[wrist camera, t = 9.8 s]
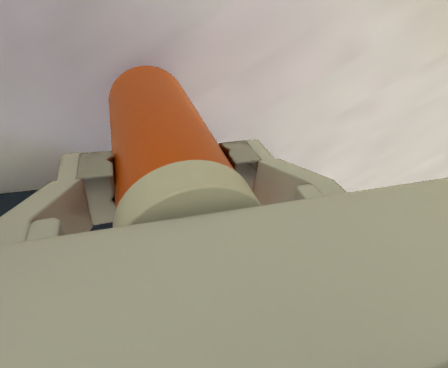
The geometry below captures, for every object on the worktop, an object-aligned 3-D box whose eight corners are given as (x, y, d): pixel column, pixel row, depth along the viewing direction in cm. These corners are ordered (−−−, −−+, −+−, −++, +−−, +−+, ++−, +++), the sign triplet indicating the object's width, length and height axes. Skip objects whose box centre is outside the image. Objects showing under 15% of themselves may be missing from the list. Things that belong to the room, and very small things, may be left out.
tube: (111, 141, 16) (123, 313, 8) (100, 62, 14) (102, 199, 6) (185, 136, 17) (256, 282, 9) (187, 63, 15) (282, 177, 7)
